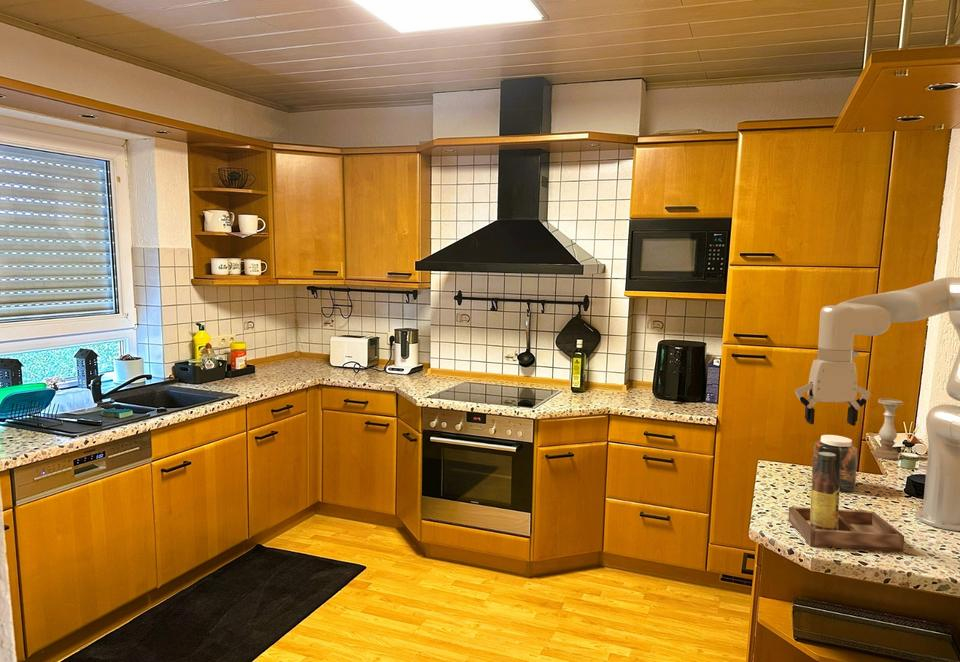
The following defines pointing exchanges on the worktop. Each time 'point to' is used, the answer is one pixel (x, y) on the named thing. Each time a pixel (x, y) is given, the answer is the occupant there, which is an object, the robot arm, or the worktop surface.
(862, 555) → the worktop surface
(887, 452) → the candle holder
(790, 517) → the caddy
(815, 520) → the sauce bottle
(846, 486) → the jar
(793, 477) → the worktop surface
